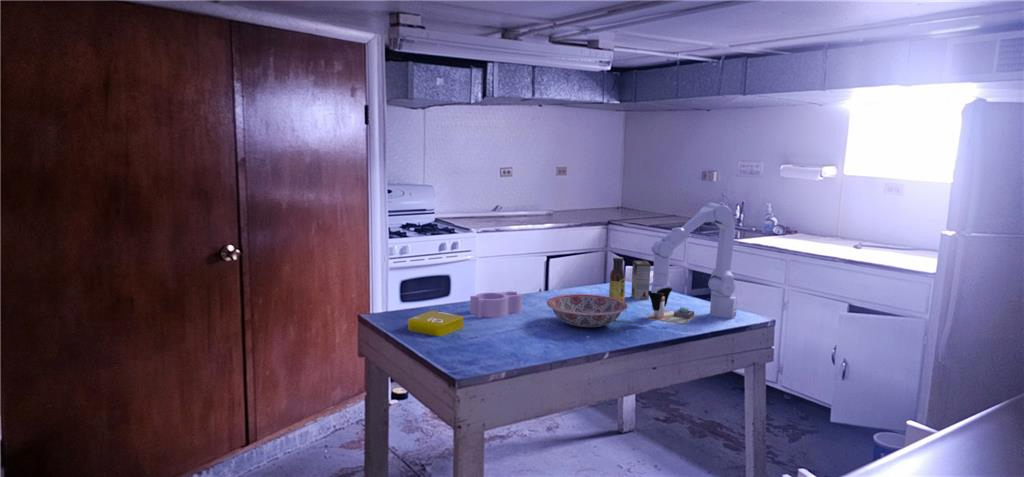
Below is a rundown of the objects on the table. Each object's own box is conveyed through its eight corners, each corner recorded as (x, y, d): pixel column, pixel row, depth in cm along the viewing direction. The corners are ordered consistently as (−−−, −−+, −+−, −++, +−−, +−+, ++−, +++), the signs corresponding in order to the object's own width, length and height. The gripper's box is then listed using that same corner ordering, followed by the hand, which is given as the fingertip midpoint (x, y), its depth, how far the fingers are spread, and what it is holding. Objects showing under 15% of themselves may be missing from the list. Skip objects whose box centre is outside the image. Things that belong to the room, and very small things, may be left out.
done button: (689, 312, 252) (689, 307, 252) (686, 314, 249) (687, 309, 249) (681, 311, 253) (681, 306, 253) (678, 313, 251) (678, 308, 250)
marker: (665, 317, 249) (666, 296, 248) (661, 319, 246) (662, 298, 245) (655, 315, 251) (656, 295, 249) (652, 317, 248) (653, 296, 246)
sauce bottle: (623, 308, 266) (626, 259, 263) (608, 307, 267) (610, 258, 264) (624, 304, 272) (626, 256, 269) (609, 303, 273) (611, 255, 270)
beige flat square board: (697, 317, 253) (697, 314, 253) (684, 327, 239) (684, 324, 239) (659, 311, 261) (659, 309, 260) (645, 320, 247) (645, 317, 247)
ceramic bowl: (630, 318, 251) (631, 297, 250) (621, 339, 223) (622, 316, 222) (555, 311, 258) (555, 291, 257) (537, 331, 231) (538, 309, 230)
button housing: (694, 315, 252) (694, 311, 252) (689, 318, 247) (689, 314, 247) (678, 312, 256) (678, 308, 255) (673, 316, 250) (673, 312, 250)
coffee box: (630, 296, 286) (632, 260, 283) (645, 297, 285) (647, 260, 283) (634, 301, 276) (635, 264, 274) (649, 302, 276) (651, 264, 274)
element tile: (465, 327, 236) (465, 314, 235) (440, 338, 223) (440, 324, 222) (432, 321, 243) (432, 308, 242) (405, 330, 230) (405, 317, 230)
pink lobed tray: (511, 306, 266) (511, 289, 265) (527, 313, 255) (528, 296, 254) (466, 312, 256) (467, 294, 255) (482, 320, 245) (482, 301, 244)
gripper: (657, 268, 254) (655, 302, 256) (643, 274, 242) (642, 310, 244) (675, 270, 250) (673, 305, 252) (662, 276, 238) (660, 313, 240)
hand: (659, 308), depth 248 cm, fingers open, 7 cm apart
